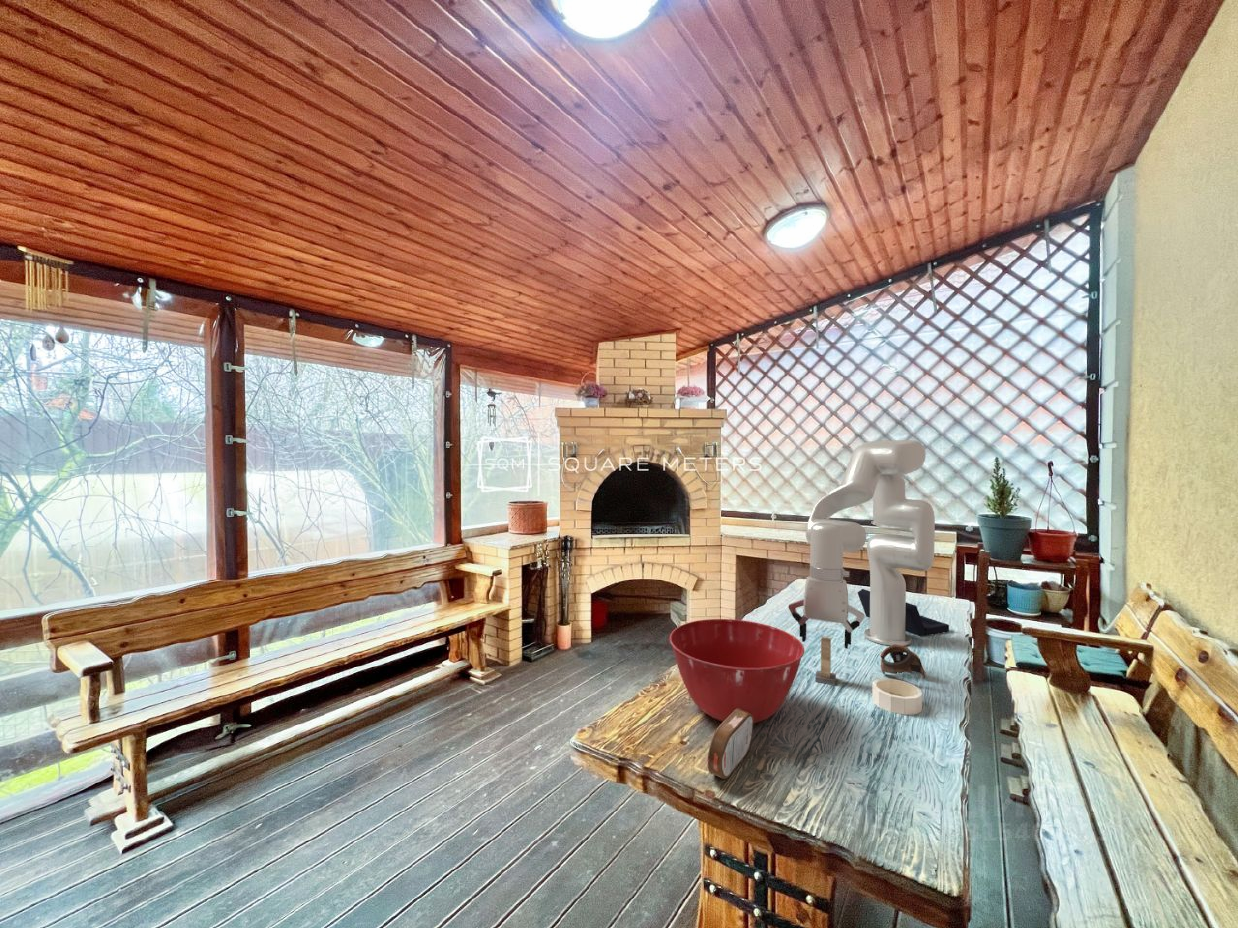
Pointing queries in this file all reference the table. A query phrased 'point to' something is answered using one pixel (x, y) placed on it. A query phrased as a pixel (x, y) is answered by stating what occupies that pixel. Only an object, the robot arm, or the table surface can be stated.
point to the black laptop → (909, 618)
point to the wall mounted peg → (825, 664)
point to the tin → (730, 743)
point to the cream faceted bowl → (897, 696)
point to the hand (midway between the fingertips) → (824, 643)
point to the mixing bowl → (736, 665)
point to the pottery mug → (901, 661)
